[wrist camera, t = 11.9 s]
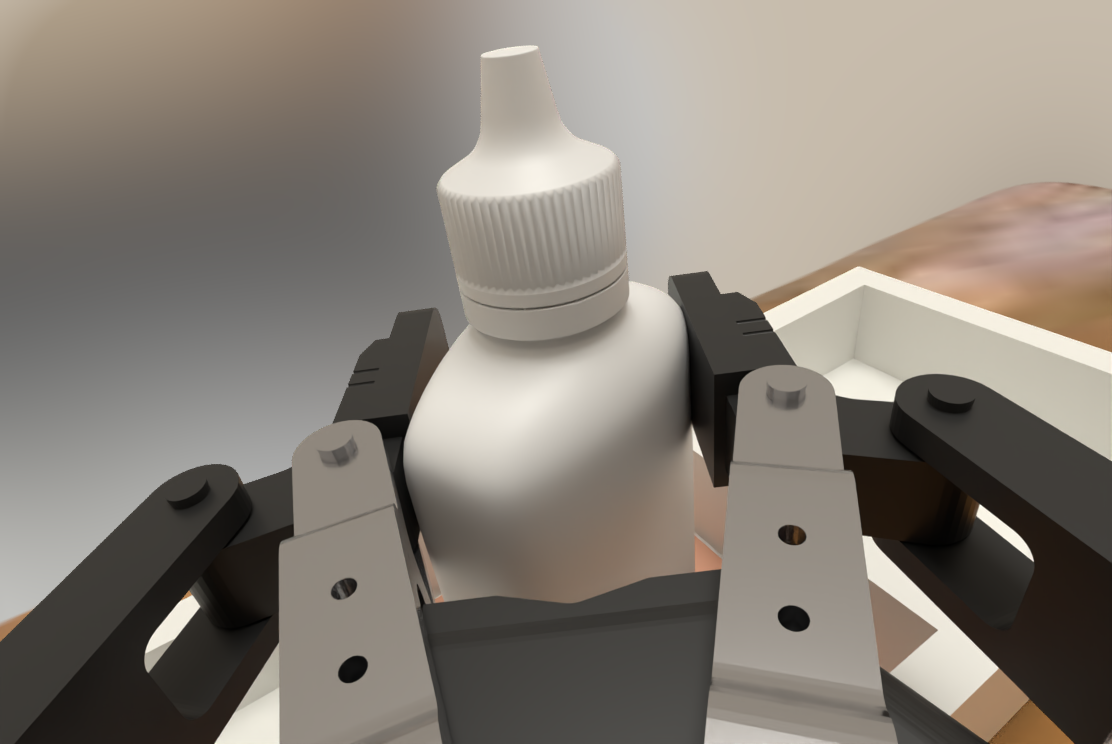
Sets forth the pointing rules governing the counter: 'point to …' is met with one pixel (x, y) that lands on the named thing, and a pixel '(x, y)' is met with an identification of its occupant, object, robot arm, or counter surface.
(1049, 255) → the counter surface
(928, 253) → the counter surface
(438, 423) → the eye dropper bottle
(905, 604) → the rack
